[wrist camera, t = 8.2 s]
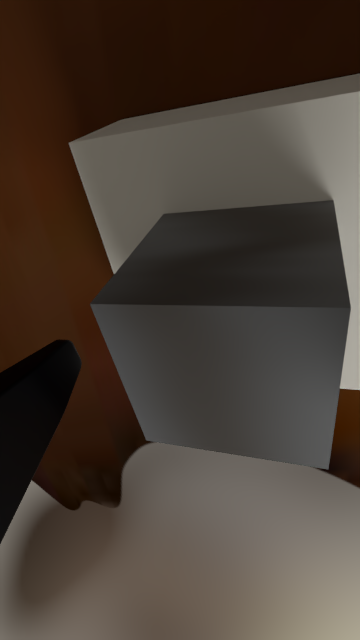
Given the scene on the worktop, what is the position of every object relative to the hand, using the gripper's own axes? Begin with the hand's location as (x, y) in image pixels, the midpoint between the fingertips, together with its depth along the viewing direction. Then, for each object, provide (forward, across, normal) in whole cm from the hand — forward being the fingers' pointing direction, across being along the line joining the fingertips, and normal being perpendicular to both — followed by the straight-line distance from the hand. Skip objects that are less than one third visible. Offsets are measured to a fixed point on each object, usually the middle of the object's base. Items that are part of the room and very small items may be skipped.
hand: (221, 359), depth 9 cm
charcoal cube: (+4, 0, 0) cm, 4 cm away
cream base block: (+8, 0, 0) cm, 8 cm away
